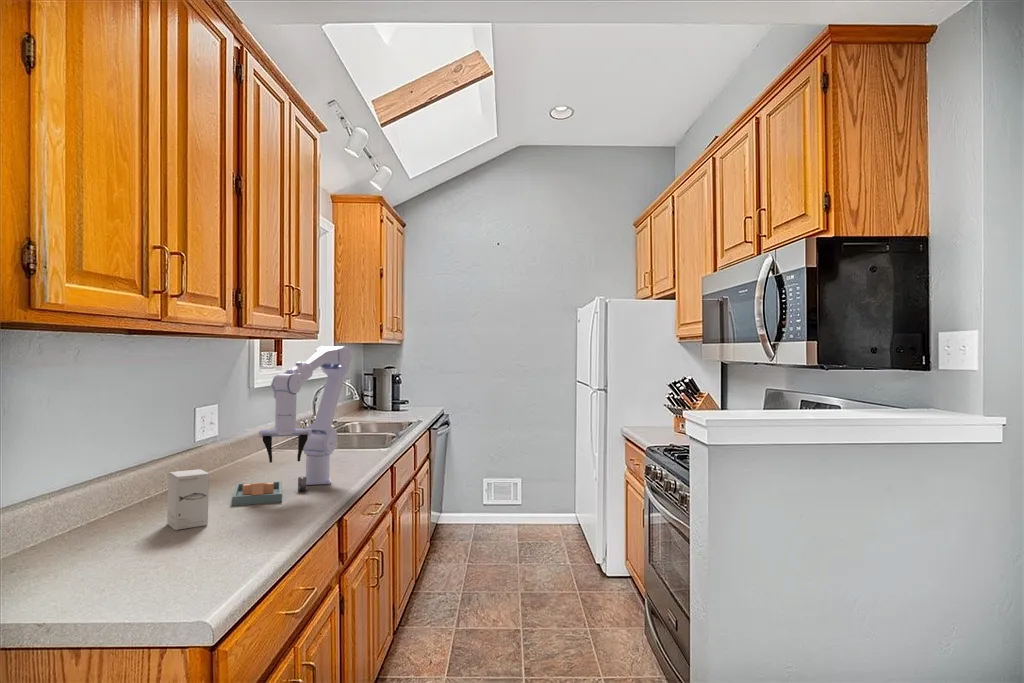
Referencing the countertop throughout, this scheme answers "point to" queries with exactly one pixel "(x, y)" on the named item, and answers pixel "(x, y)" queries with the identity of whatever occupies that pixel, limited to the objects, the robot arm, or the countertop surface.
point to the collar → (257, 488)
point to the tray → (257, 499)
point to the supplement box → (188, 499)
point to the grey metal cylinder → (302, 484)
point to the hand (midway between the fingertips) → (284, 461)
